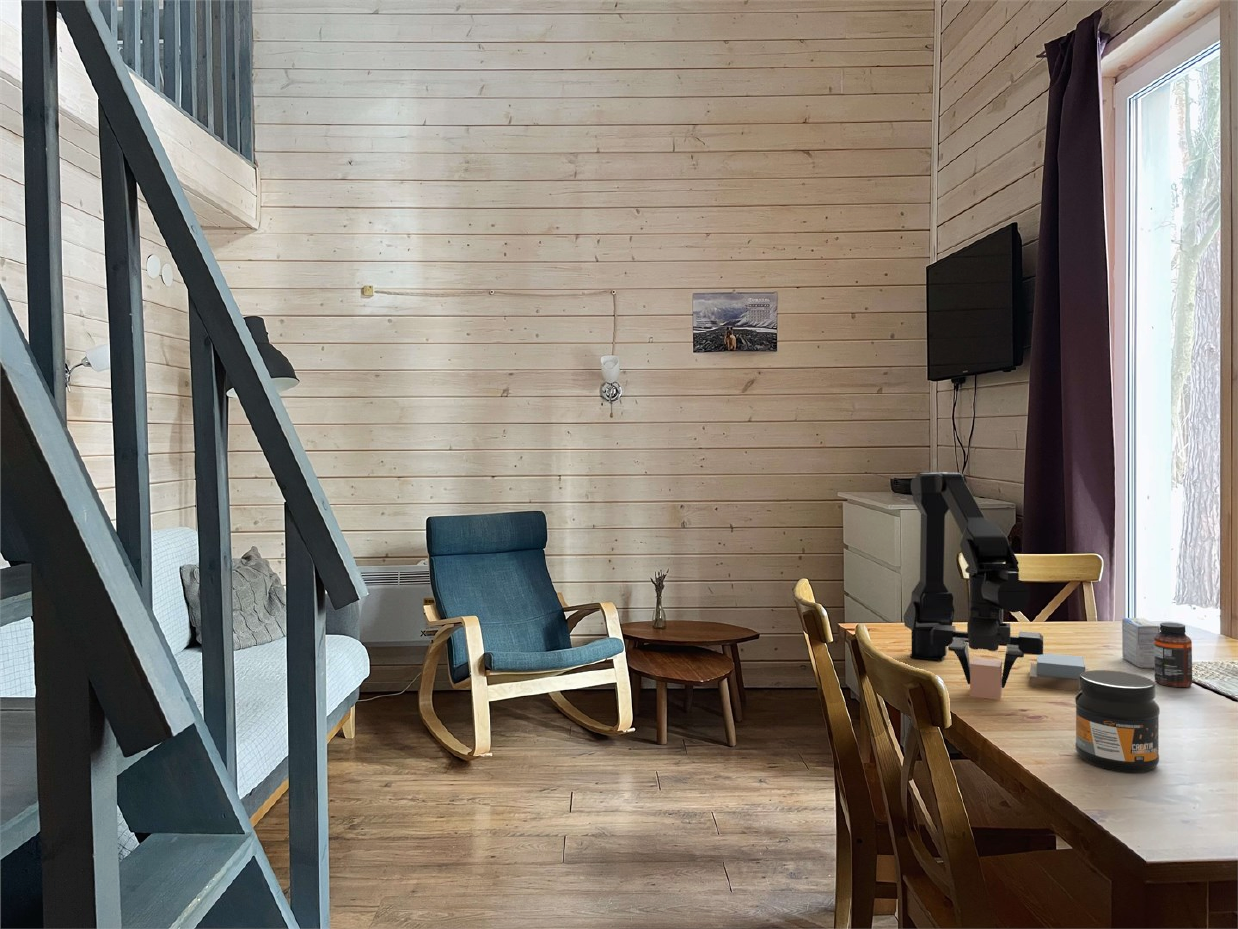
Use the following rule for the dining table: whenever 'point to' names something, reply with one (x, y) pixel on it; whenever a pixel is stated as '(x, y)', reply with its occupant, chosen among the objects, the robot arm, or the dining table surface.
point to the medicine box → (1139, 641)
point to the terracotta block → (986, 678)
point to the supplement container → (1117, 721)
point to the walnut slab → (1052, 681)
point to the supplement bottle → (1173, 656)
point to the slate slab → (1060, 666)
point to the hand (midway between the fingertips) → (986, 685)
